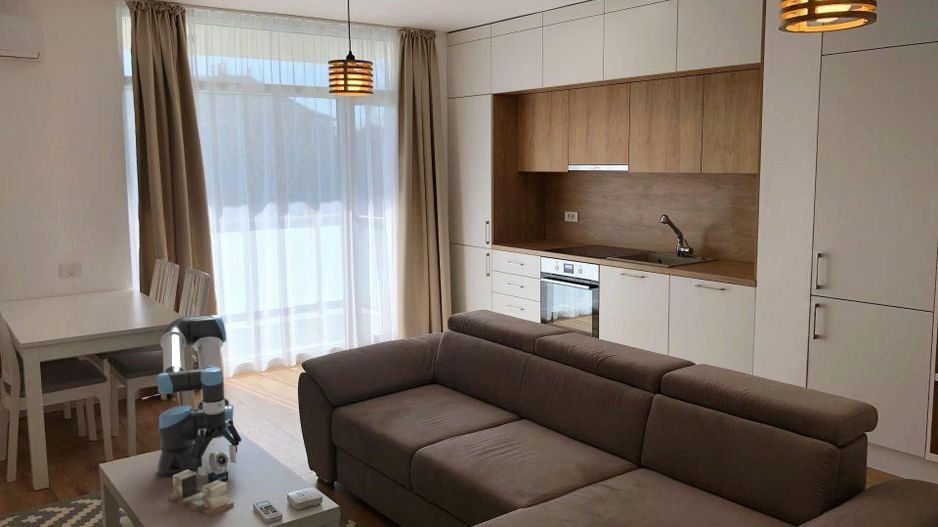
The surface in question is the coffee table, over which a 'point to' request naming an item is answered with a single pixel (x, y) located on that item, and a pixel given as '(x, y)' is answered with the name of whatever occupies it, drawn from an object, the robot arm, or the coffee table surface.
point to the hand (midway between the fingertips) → (217, 468)
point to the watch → (220, 462)
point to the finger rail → (200, 494)
